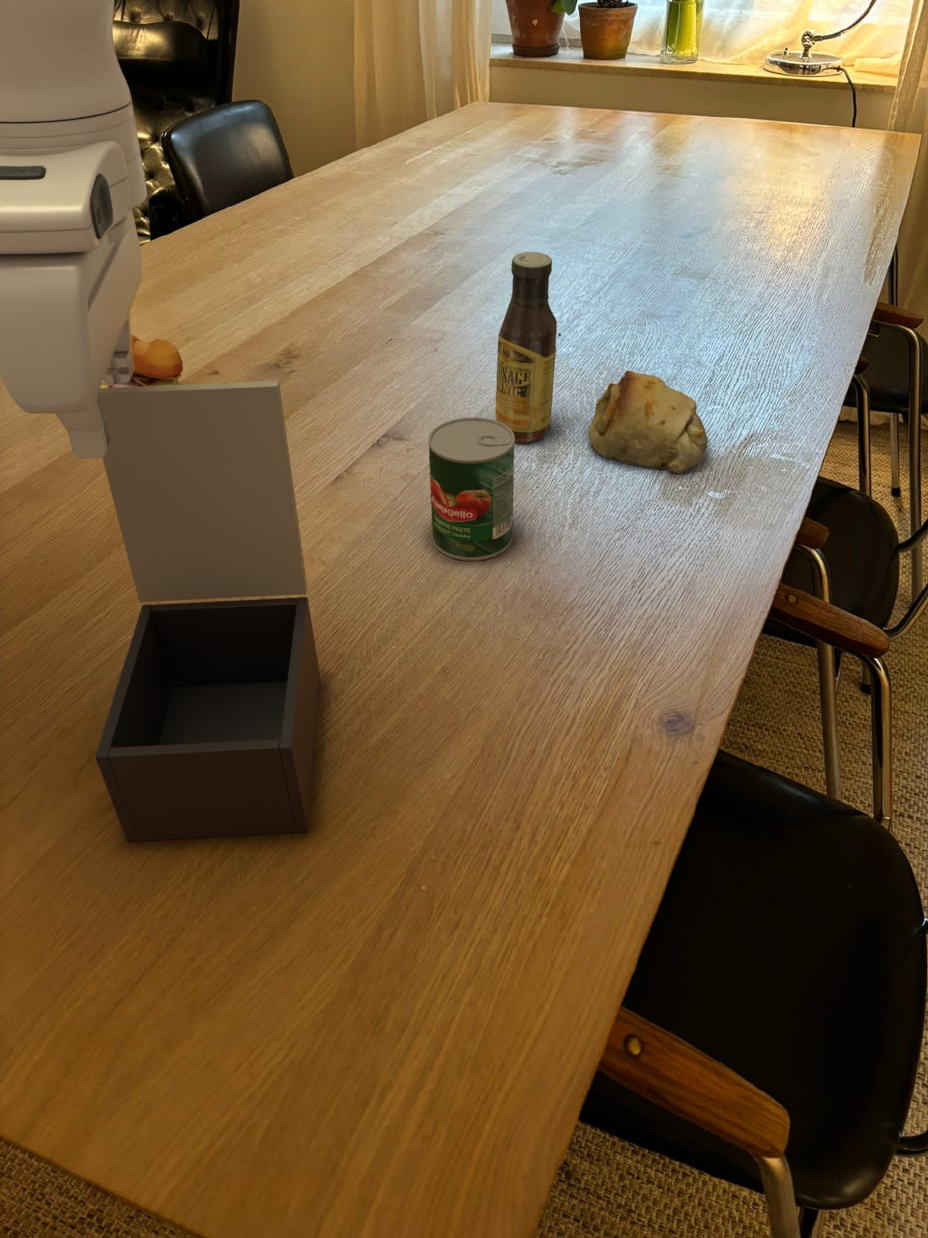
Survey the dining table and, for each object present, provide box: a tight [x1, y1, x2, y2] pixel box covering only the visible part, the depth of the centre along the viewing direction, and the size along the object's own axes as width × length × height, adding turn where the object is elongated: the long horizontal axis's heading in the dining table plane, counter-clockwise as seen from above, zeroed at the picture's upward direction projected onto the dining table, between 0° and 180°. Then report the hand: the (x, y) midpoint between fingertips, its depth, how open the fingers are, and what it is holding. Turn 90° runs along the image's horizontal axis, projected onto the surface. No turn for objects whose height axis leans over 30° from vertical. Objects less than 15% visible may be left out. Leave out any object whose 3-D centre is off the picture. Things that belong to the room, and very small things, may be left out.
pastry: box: [588, 370, 708, 474], centre depth 107 cm, size 14×12×8 cm
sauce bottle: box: [494, 251, 558, 444], centre depth 106 cm, size 6×6×20 cm
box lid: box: [96, 380, 308, 603], centre depth 71 cm, size 17×13×1 cm
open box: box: [94, 596, 321, 843], centre depth 73 cm, size 16×13×9 cm
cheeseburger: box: [100, 333, 184, 388], centre depth 116 cm, size 10×11×10 cm
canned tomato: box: [427, 416, 516, 562], centre depth 93 cm, size 8×8×11 cm
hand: (107, 413), depth 59 cm, fingers open, 8 cm apart
